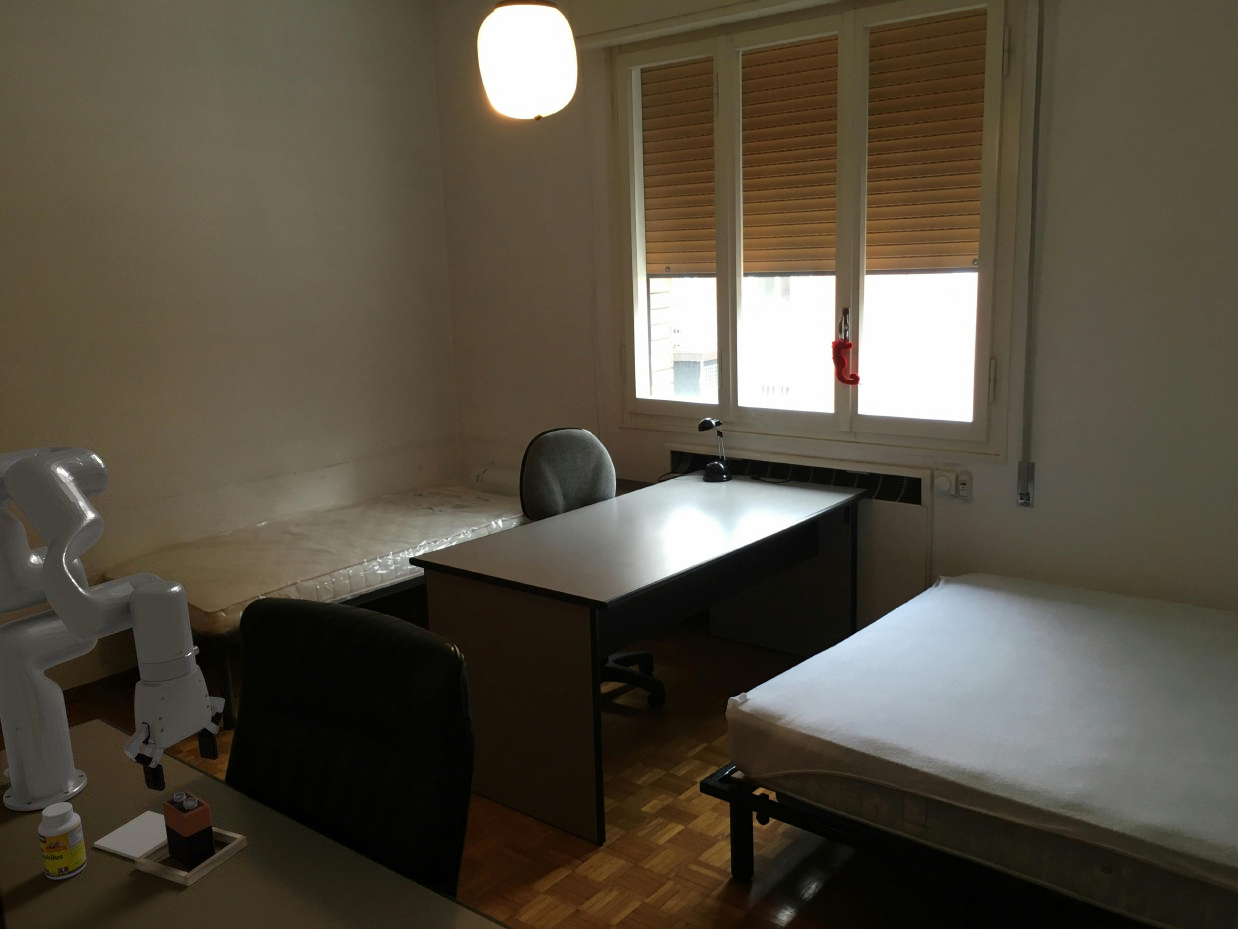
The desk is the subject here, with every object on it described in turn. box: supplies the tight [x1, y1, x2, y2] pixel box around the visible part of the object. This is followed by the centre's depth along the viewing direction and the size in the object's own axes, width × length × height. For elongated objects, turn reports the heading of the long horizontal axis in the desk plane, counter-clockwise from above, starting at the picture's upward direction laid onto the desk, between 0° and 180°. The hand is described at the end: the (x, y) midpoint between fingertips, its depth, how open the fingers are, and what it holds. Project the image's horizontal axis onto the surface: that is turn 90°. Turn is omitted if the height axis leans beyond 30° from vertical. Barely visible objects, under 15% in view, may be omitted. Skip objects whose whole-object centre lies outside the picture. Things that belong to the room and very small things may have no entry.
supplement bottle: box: [37, 801, 88, 881], centre depth 145 cm, size 6×6×10 cm
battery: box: [162, 791, 217, 871], centre depth 147 cm, size 4×7×10 cm, turn 51°
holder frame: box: [134, 826, 248, 887], centre depth 148 cm, size 11×11×2 cm
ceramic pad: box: [93, 810, 167, 861], centre depth 154 cm, size 10×10×1 cm
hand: (183, 773), depth 145 cm, fingers open, 9 cm apart
